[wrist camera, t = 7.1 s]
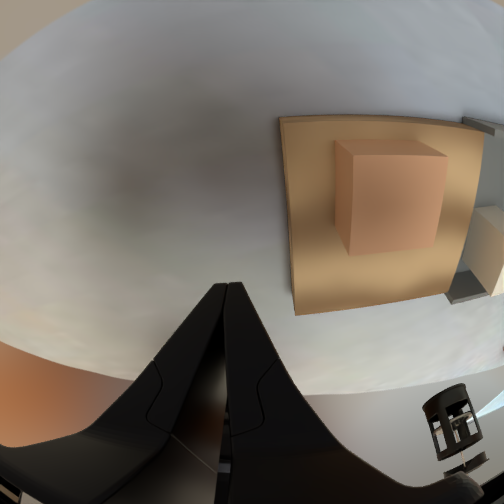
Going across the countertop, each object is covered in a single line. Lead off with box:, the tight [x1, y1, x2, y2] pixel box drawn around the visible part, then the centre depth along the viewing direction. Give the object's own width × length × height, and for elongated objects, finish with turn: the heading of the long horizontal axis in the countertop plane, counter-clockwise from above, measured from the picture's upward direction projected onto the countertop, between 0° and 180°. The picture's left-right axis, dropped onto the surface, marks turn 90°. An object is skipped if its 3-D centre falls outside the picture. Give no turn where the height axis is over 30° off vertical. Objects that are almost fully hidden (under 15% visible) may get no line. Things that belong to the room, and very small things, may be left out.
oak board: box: [279, 115, 485, 316], centre depth 17 cm, size 13×13×2 cm
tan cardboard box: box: [334, 139, 449, 256], centre depth 13 cm, size 5×5×3 cm
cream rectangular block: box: [462, 205, 504, 297], centre depth 16 cm, size 5×5×3 cm
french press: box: [422, 383, 489, 478], centre depth 28 cm, size 12×9×23 cm
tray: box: [444, 117, 504, 305], centre depth 16 cm, size 14×9×4 cm, turn 7°
